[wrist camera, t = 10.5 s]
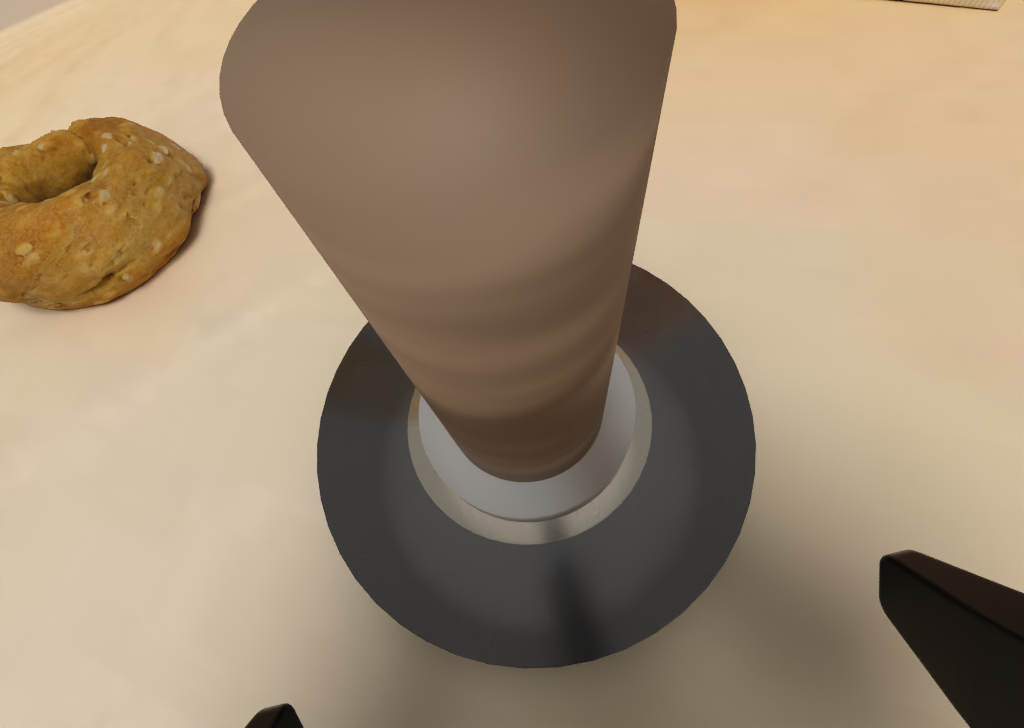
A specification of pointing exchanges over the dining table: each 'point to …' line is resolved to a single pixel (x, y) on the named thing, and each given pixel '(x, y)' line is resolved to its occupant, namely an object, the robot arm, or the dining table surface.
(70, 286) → the bagel
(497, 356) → the wooden peg on stand
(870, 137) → the dining table surface
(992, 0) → the coffeecake box
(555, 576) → the base plate
